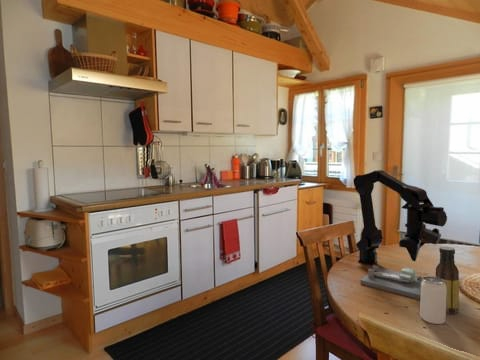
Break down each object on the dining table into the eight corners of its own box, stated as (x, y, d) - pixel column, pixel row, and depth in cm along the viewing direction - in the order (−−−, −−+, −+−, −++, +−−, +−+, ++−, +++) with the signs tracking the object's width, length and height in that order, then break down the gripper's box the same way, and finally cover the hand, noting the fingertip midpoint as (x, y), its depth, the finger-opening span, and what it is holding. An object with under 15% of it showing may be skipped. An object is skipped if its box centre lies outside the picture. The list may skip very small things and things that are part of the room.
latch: (398, 281, 117) (398, 272, 117) (403, 276, 122) (403, 267, 122) (410, 284, 115) (410, 275, 114) (415, 279, 119) (415, 270, 119)
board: (360, 283, 121) (360, 272, 120) (376, 270, 133) (376, 260, 133) (426, 301, 106) (426, 288, 106) (437, 284, 118) (437, 273, 118)
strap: (370, 275, 124) (370, 272, 124) (373, 273, 126) (373, 270, 126) (408, 282, 115) (408, 279, 115) (411, 280, 117) (410, 277, 117)
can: (436, 327, 90) (438, 286, 89) (415, 317, 96) (416, 278, 95) (450, 321, 93) (451, 281, 92) (428, 311, 99) (429, 274, 98)
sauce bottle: (453, 305, 102) (455, 245, 101) (462, 315, 96) (465, 251, 95) (431, 304, 104) (433, 244, 102) (438, 313, 98) (441, 250, 96)
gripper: (433, 229, 110) (432, 272, 112) (444, 219, 124) (443, 259, 125) (399, 224, 118) (398, 265, 119) (412, 216, 132) (411, 253, 133)
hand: (414, 260), depth 124 cm, fingers closed
